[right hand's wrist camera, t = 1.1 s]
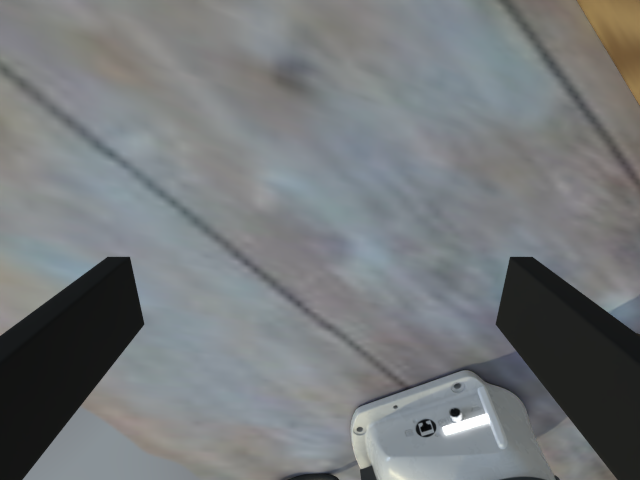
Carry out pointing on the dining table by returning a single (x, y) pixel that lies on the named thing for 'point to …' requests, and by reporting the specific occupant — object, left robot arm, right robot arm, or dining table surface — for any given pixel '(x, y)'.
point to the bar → (618, 35)
